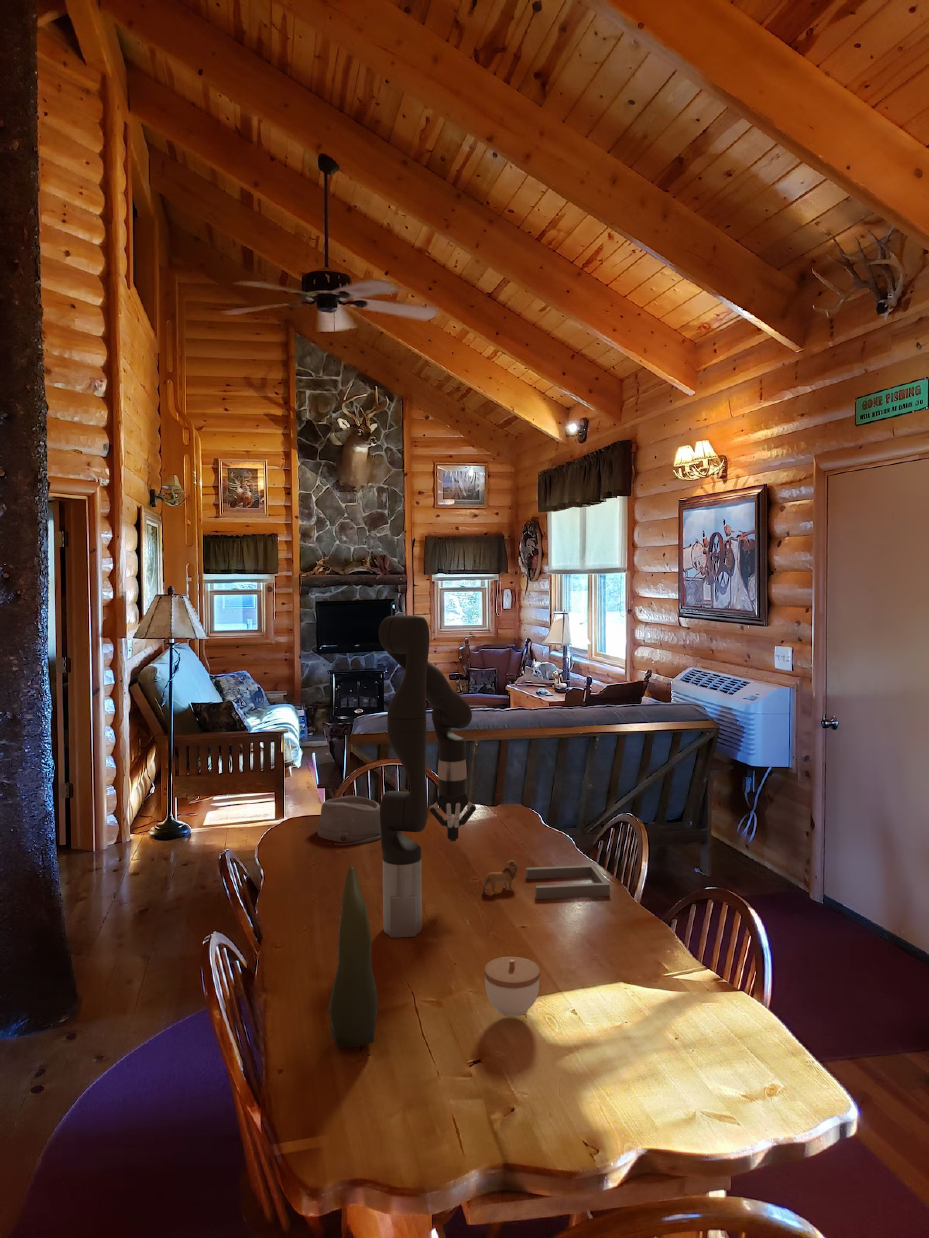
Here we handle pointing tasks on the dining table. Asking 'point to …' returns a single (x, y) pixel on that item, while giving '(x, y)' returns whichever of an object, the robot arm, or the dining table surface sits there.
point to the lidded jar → (512, 984)
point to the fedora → (350, 820)
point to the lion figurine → (501, 877)
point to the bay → (569, 890)
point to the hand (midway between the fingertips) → (452, 840)
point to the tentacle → (353, 972)
